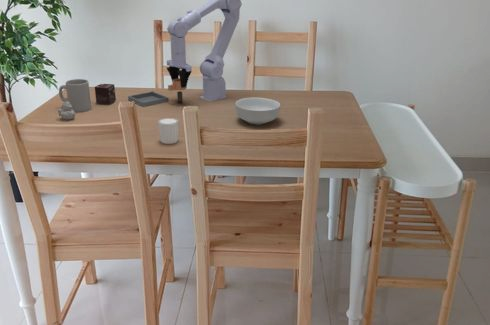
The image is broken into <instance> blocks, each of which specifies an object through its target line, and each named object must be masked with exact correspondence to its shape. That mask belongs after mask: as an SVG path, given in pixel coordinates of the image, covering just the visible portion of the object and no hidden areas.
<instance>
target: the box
mask: <svg viewBox="0 0 490 325" xmlns="http://www.w3.org/2000/svg"><path fill="white" fill-rule="evenodd" d="M94 93H95V101H96V105H104V106H105V105H106V106H111V105H112V104H114V103H115V102H116V100H117V98H116V89H115V84H113V83H112V84H111V83H100V84H97V85H96V86H94Z"/></svg>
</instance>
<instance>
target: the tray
mask: <svg viewBox="0 0 490 325" xmlns="http://www.w3.org/2000/svg"><path fill="white" fill-rule="evenodd" d="M127 99H128V101H129V102H131V101H134V102H135V103H134V102H133V103H134V104H136V105H139V106H141V107H143V108H145V107H150V106H156V105H158V104H164V103H168V102H169V101H170V100H169V97H168V96H166V95H163V94H161V93H158V92H155V91H147V92H142V93H137V94H132V95H128V96H127Z"/></svg>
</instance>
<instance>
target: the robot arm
mask: <svg viewBox="0 0 490 325" xmlns="http://www.w3.org/2000/svg"><path fill="white" fill-rule="evenodd" d="M242 5H243V4H242V0H208V1H207V2H205V3H204V4H203V5H202V6H200V7H199V8H197V9H195V10H194V9H188V10H187V11H186V13H184V15H182V16H179V17H177V20H172V21H170V22H169V24H168V26H167V29H166V30H167V32H168V34H169V36H170V55H171V56H170V59H169V60H168V59H167V60H166V66H169V67H166V70H167V72H168V74H169V76H170V79H171V81H172V80H173V79H177V78H180V82H181V87H182V88H184V87H187V85H188V81H189V78H190V75H191V73H192V72H193V71H192V70H193V69H192V67H193V66H191V65H190V64H189V63H187V57H186V56H187V54H186V36H187V35H188V32H189V31H190V30H191V29H192V28H194V27H196V26H197V25H199V24H200V23H201V20H202V18H203V17H205V16H207V15H209V14H210V13H212V12H214V11H215V10H217V9H218V10H219V9H220V11H221V13H222V14H223V17H224V20H223V22H222V26H221V27H220V30H219V32H218V35H217V37H216V40H215V42H214V44H213V47H212V49H211V50H210V51H211V52H210V53H209V54H208V55H206V56H205V58H204V60H203V61H202V62H201V63H200V64H199V71H200V73H201V74H202V95H200V96H199V98H201V99H203V100H207V101H209V102H212V101H216V100H221V99H225V98H227V95H226V92H227V90H226V88H227V87H226V86H227V85H226V80H225V78H224V77H223V74H224V66H225V62H224V56H225V54H226V53H227V52H226V51H227V49H228V47H229V45H230V42H231V39H232V38H233V35H234V32H235V29H236V28H237V25H238V23H239V20H240V9H241V7H242Z"/></svg>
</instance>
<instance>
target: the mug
mask: <svg viewBox="0 0 490 325" xmlns="http://www.w3.org/2000/svg"><path fill="white" fill-rule="evenodd" d="M63 90H65V91H66V97H65V96H64V95H63ZM58 94H59V98H60V101H62V102H63V103H64V102H65V101H66V99H67V101H68V102H69V103H70V104H71V105H72V108H71V109H73V110H74V112H75V113H83V112H84V113H85V112H88V111H91V110H92V102H91V92H90V84H89V81H88V80H87V79H81V78H79V79H78V78H75V79H70V80H67V81H65V84H62V85H60V86H59V88H58Z"/></svg>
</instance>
